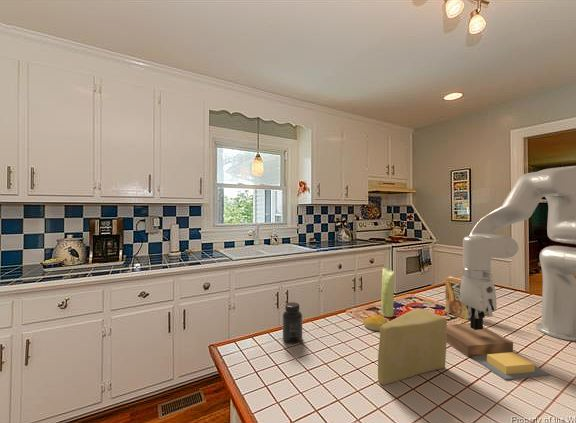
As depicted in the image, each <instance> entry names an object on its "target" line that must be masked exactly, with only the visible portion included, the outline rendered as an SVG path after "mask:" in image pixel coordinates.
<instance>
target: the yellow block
mask: <svg viewBox="0 0 576 423" xmlns="http://www.w3.org/2000/svg"><path fill="white" fill-rule="evenodd" d="M487 362H488V363H490V364H491V365H493V366H494V367H496V368H497V369H499V370H500V371H502V372H503V373H505V374H516V373H527V372H535V366H536V363H534V362H533V361H530V360H528V359H527V358H525V357H523V356H522V355H520V354H518V353H516V352H514V351H513V352H510V353H497V354H487Z"/></svg>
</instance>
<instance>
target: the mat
mask: <svg viewBox="0 0 576 423" xmlns="http://www.w3.org/2000/svg"><path fill="white" fill-rule="evenodd" d="M471 358H472V359H473V360H474V361H476V362H477V363H479V364H480V365H481V366H483V367H484V368H486V369H488V370H489V371H491V372H492V373H494V374H495V375H496V376H498V377H500V378H501V379H503V380H504V381H508V380H510V381H511V380H517V379H527V378H528V379H529V378H538V377H543V376H544V377H547V376H550V373H549V372H547V371H545V370H543V369H542V368H540V367H538V366H536V365H535V372H527V373H516V374H505V373H503V372H502V371H500V370H499V369H497V368H496V367H494V366H493V365H491V364H490V363H488V362H487V355H482V356H472V357H471Z"/></svg>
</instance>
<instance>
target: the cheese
mask: <svg viewBox="0 0 576 423" xmlns="http://www.w3.org/2000/svg"><path fill="white" fill-rule="evenodd" d="M447 325H448V323H447V318H446V317H444V316H442V315H440V314H436V313H434V312H432V311H429V310H425V309H424V308H420V307H416V308H414V309H411V310H410V311H407V312H405V313H402V314H401V315H399V316H398V317H396V318H393V319H392V320H389V321H387V323H385V324H383V325H382V326H381V329H380V331H379V343H378V351H377V352H378V353H377V382H378V383H379V384H380V385H383V386H385V385H389V384H392V383H395V382H396V383H397V382H398V381H402V380H405V379H408V378H411V377H414V376H417V375H420V374H424V373H428V372H432V371H436V370H441V369H445V368H446V361H447V360H446V359H447V344H448V343H447Z"/></svg>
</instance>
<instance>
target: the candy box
mask: <svg viewBox="0 0 576 423" xmlns="http://www.w3.org/2000/svg"><path fill="white" fill-rule="evenodd" d="M461 279H462V278H459V277H454V276H448V277H445V313H446V312H447V313H446V314H449V313H451V315H453V316H456V317H460V318H462V319H464V320H465V319H466V320H469V319H470V315H469V312H468V309H467V308H466V307H465V306H463V304H462V302H461V299H460V286H461Z"/></svg>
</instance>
